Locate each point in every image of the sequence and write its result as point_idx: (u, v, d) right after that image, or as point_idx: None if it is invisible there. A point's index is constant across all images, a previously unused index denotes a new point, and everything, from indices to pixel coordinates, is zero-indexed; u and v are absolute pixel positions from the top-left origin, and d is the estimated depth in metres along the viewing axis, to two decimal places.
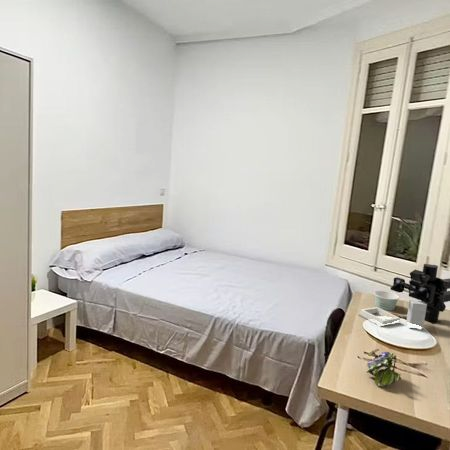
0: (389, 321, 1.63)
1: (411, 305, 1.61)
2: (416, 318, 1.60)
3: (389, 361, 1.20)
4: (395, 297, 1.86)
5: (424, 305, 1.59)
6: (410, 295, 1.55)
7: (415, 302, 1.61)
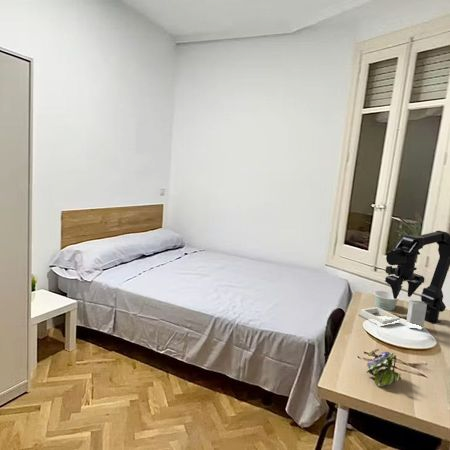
0: (389, 321, 1.63)
1: (411, 305, 1.61)
2: (416, 318, 1.60)
3: (389, 361, 1.20)
4: None
5: (424, 305, 1.59)
6: (394, 297, 1.60)
7: (415, 302, 1.61)
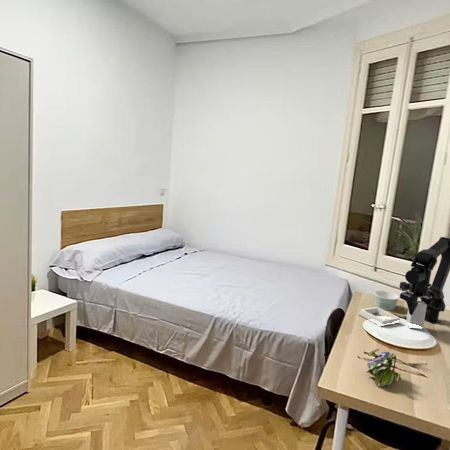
0: (389, 321, 1.63)
1: None
2: (416, 318, 1.60)
3: (389, 361, 1.20)
4: (395, 297, 1.86)
5: (424, 305, 1.59)
6: (410, 313, 1.60)
7: None
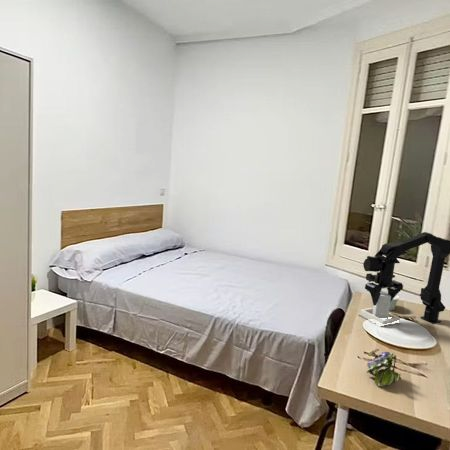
0: (389, 321, 1.63)
1: None
2: (381, 309, 1.66)
3: (389, 361, 1.20)
4: (395, 297, 1.86)
5: (388, 297, 1.65)
6: (374, 304, 1.66)
7: None
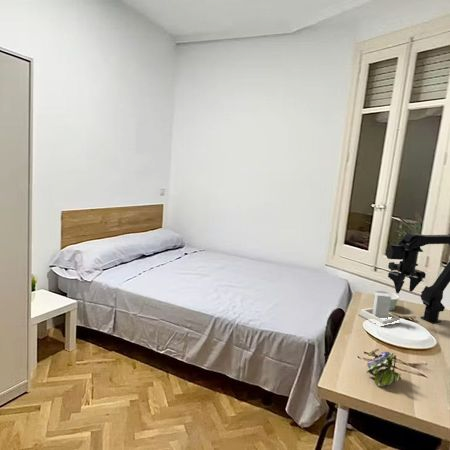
0: (389, 321, 1.63)
1: (376, 297, 1.67)
2: (381, 309, 1.66)
3: (389, 361, 1.20)
4: (395, 297, 1.86)
5: (388, 297, 1.65)
6: (397, 292, 1.68)
7: (380, 294, 1.67)
